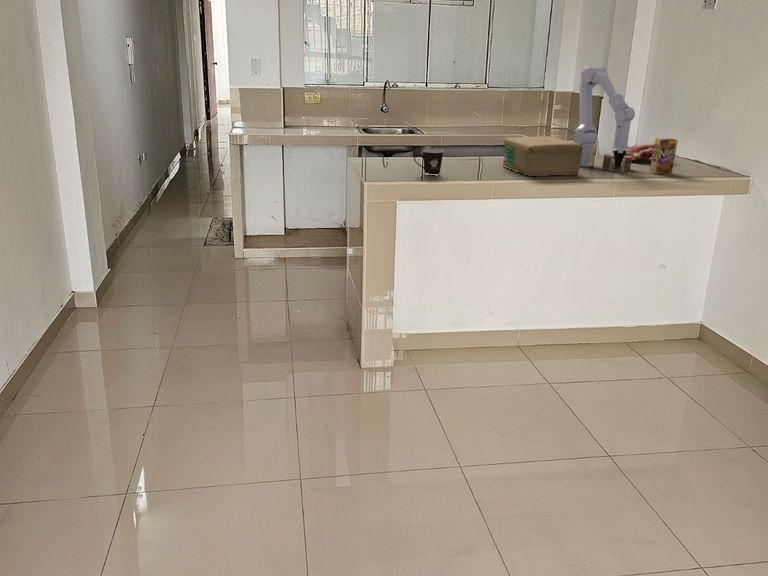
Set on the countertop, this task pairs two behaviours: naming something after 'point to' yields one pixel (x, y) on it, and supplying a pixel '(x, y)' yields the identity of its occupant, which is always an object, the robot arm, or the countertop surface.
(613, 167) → the shaft
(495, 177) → the countertop surface
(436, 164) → the coffee mug
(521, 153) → the paper package
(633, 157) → the meat
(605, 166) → the bearing block
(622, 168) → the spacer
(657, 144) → the candy box
